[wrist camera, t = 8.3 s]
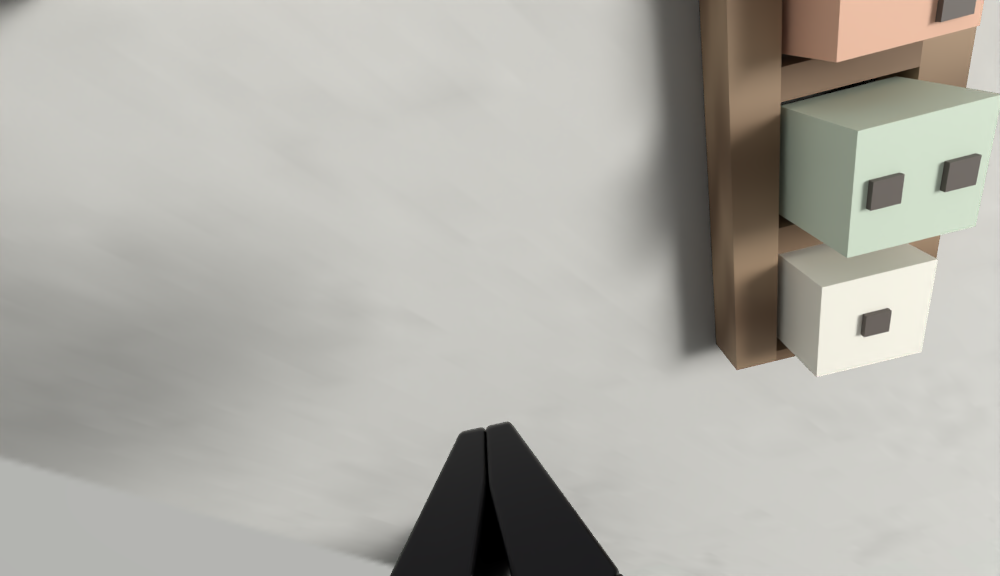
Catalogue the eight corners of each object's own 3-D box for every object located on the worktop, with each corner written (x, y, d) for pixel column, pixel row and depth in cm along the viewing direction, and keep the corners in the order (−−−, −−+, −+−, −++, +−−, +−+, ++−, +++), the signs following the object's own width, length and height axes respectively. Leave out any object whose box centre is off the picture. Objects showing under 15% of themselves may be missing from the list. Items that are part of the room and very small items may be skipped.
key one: (851, 300, 24) (925, 355, 20) (762, 321, 24) (819, 380, 20) (859, 217, 22) (942, 261, 18) (762, 241, 22) (825, 290, 18)
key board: (890, 301, 24) (924, 324, 23) (716, 344, 25) (736, 370, 23) (953, -169, 16) (1014, -189, 15) (694, -98, 17) (723, -110, 15)
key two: (883, 187, 20) (981, 228, 17) (777, 213, 20) (851, 261, 17) (896, 76, 18) (1009, 95, 15) (779, 106, 18) (862, 133, 15)
